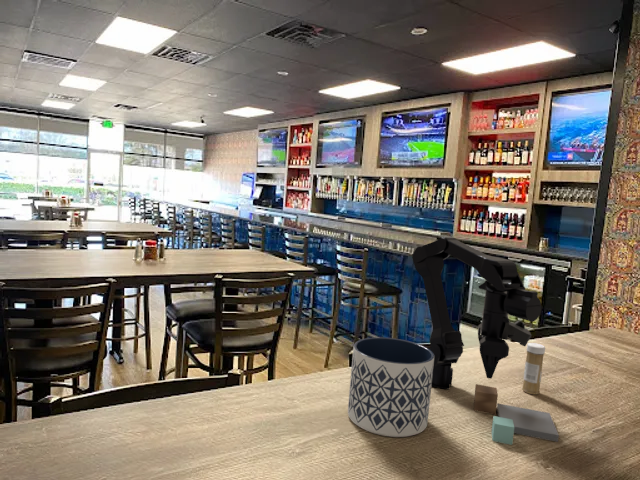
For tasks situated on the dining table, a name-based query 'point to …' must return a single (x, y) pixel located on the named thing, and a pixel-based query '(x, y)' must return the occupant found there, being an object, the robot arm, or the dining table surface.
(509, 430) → the teal block
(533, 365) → the sprinkles bottle
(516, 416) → the slate board
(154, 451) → the dining table surface
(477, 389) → the walnut block
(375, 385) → the planter
